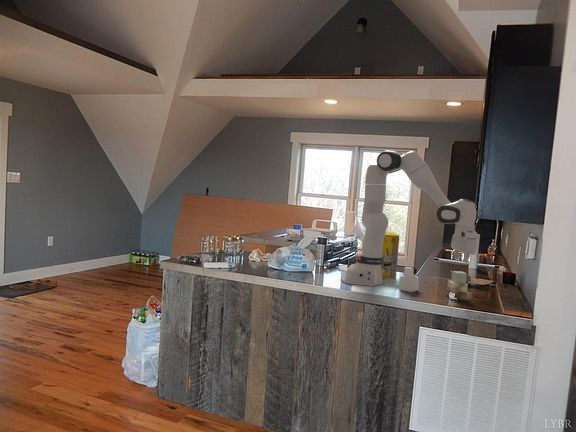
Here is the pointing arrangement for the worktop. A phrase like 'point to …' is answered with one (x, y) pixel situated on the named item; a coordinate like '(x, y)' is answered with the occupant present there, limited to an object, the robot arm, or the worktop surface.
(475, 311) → the worktop surface
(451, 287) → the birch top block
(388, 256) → the packaging box
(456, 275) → the sage cube
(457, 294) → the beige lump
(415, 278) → the medicine bottle
